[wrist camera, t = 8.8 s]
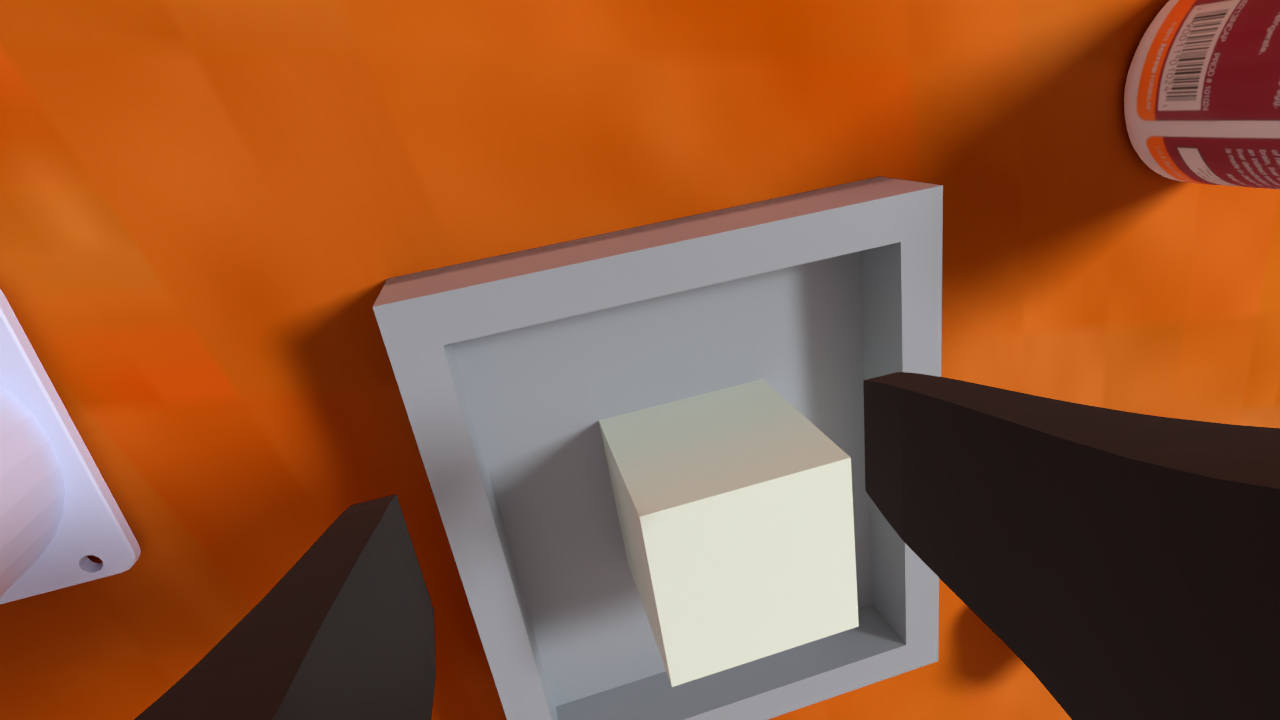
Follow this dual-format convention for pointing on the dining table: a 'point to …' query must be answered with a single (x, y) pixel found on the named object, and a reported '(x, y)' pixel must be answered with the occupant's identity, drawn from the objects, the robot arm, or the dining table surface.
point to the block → (733, 526)
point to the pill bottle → (1208, 93)
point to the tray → (650, 376)
